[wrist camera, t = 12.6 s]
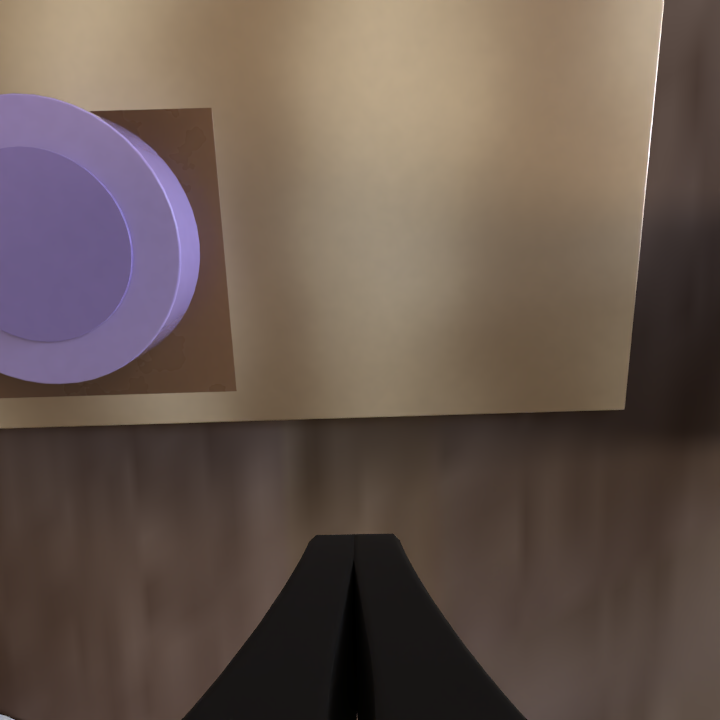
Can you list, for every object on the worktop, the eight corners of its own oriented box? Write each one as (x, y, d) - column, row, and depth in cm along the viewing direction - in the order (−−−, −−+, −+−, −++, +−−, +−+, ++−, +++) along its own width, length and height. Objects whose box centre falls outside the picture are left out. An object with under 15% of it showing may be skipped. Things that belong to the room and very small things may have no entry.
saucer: (187, 106, 14) (163, 88, 13) (210, 365, 16) (192, 383, 14) (-81, 110, 14) (-145, 94, 13) (-29, 369, 16) (-79, 388, 14)
